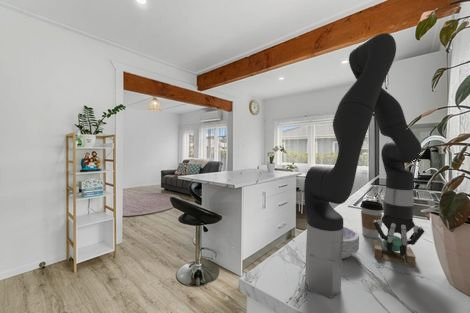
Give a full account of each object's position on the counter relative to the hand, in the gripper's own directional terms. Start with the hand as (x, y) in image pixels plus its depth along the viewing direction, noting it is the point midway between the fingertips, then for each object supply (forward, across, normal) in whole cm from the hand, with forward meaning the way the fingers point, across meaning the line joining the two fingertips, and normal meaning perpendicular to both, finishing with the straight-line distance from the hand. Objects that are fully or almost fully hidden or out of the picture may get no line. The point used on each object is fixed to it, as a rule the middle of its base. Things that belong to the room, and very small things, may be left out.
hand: (396, 253), depth 69 cm
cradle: (+4, 0, +6) cm, 7 cm away
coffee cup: (+4, -6, +24) cm, 25 cm away
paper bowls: (+4, -18, -1) cm, 19 cm away
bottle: (+2, 0, +12) cm, 12 cm away
